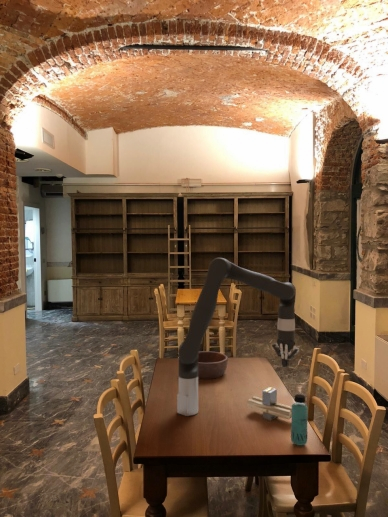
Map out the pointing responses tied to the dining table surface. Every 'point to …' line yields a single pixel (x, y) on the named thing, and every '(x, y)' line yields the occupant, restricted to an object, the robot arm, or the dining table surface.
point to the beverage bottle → (299, 421)
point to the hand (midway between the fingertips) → (285, 366)
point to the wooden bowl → (211, 364)
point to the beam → (270, 409)
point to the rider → (269, 396)
